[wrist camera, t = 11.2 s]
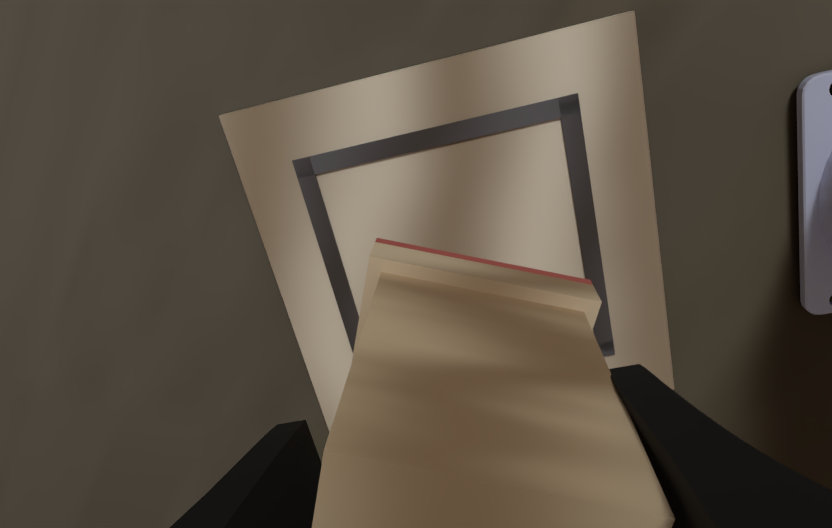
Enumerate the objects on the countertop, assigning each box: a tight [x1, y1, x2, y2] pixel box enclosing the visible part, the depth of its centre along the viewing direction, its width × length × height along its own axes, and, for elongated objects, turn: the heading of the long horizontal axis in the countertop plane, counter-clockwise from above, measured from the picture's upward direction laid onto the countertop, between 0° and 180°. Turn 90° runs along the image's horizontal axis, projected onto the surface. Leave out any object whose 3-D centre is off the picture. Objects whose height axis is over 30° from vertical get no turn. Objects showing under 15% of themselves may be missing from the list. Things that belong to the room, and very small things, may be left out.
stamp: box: [312, 238, 675, 528], centre depth 11 cm, size 5×5×7 cm
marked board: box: [219, 11, 674, 432], centre depth 21 cm, size 13×13×1 cm
